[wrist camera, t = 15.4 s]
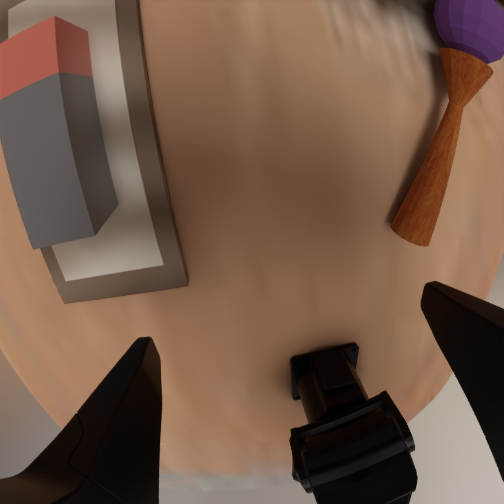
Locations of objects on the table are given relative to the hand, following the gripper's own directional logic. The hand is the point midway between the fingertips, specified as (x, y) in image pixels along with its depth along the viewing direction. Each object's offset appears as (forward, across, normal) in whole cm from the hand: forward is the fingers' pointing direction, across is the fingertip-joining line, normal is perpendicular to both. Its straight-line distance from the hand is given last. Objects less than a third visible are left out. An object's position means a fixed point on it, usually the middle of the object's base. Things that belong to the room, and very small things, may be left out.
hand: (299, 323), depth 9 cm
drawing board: (+12, +10, -7) cm, 17 cm away
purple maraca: (+12, -14, -6) cm, 20 cm away
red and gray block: (+11, +10, -7) cm, 16 cm away
